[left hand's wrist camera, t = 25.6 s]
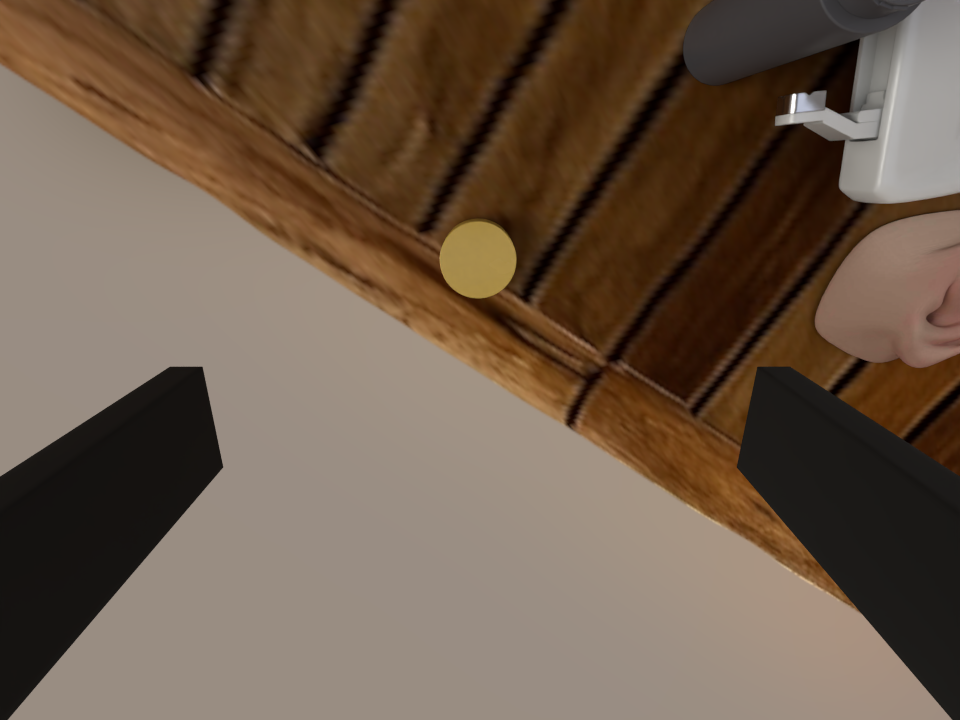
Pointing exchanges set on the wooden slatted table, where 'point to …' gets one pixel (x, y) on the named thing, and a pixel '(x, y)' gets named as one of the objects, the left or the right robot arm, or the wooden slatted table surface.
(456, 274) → the lid
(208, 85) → the wooden slatted table surface
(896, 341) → the anatomical model
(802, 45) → the dark grey bottle
